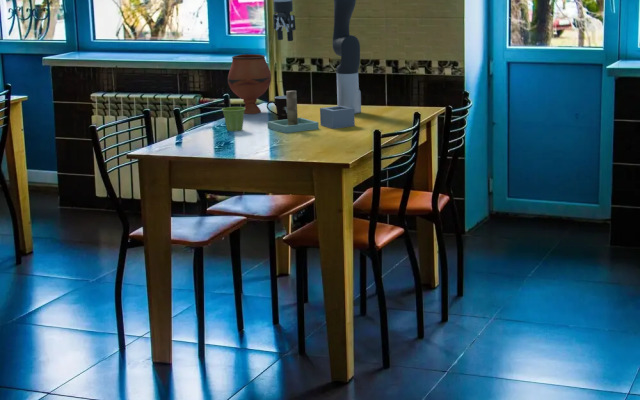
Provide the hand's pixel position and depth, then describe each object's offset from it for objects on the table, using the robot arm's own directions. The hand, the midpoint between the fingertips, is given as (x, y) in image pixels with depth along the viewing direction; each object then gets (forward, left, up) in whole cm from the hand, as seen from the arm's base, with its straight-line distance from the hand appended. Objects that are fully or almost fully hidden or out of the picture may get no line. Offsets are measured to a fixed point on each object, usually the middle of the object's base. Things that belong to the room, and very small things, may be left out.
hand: (285, 40), depth 425 cm
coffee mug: (+3, -1, -33) cm, 33 cm away
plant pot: (+28, +6, -33) cm, 44 cm away
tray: (+8, +18, -33) cm, 39 cm away
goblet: (+3, -31, -33) cm, 45 cm away
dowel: (+8, +18, -32) cm, 38 cm away
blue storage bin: (-9, +24, -33) cm, 42 cm away
